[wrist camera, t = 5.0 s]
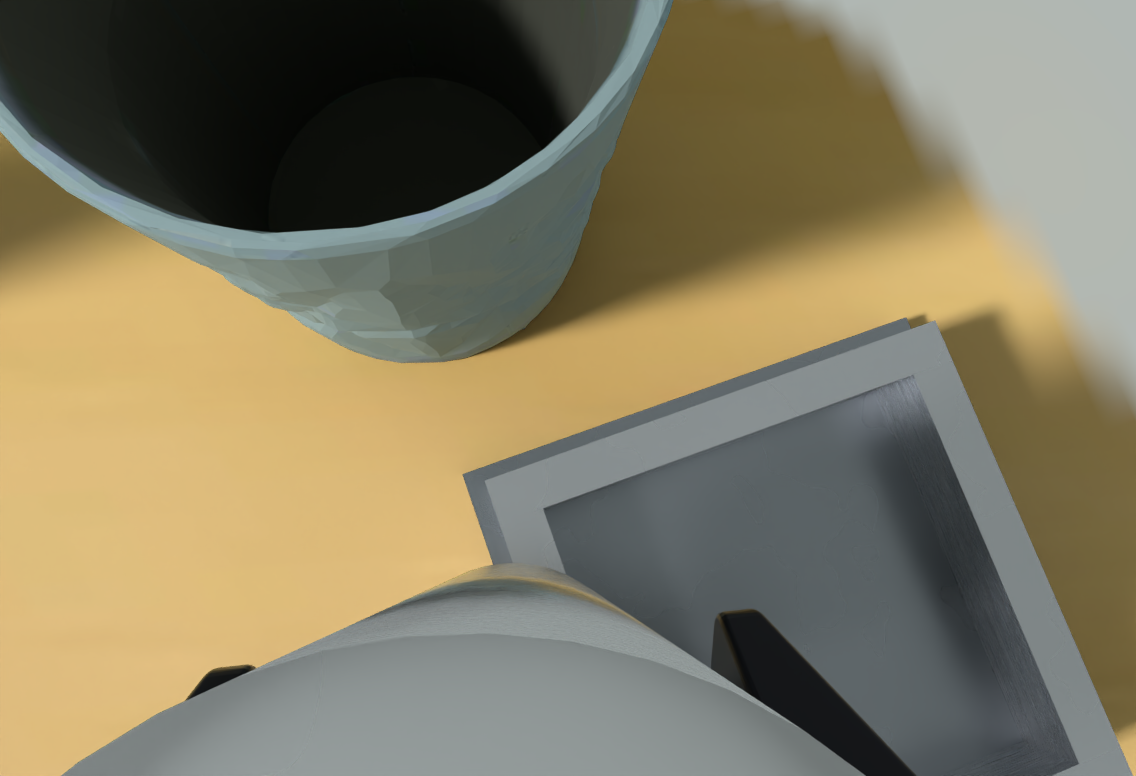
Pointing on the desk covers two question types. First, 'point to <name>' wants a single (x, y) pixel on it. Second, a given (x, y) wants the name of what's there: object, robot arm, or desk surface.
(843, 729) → the robot arm
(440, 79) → the blue gray cup
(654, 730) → the silver metal cylinder
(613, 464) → the square metal tray
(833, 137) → the desk surface
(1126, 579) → the desk surface
